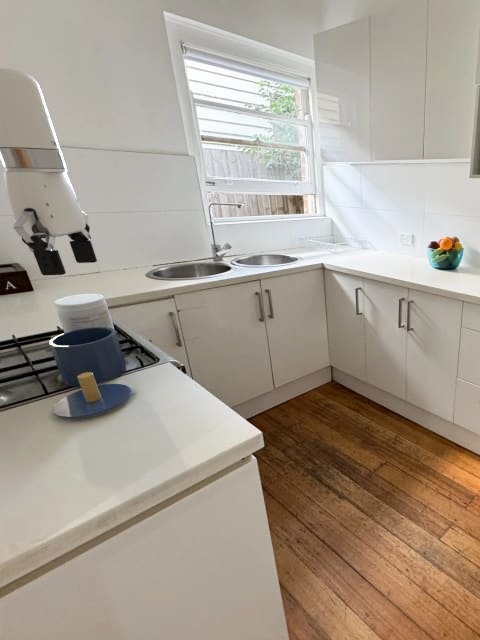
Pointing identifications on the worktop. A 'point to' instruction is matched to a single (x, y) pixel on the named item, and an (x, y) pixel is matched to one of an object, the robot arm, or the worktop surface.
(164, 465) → the worktop surface
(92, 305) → the supplement tub
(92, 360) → the tin
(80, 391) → the lid
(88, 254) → the robot arm
